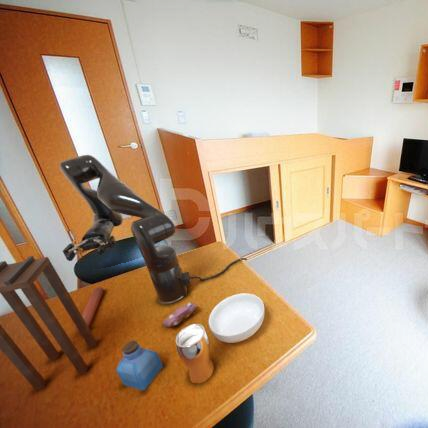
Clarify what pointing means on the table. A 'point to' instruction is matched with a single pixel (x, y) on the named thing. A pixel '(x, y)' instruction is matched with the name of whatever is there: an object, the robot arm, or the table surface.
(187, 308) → the video game controller
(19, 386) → the table surface
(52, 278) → the shelf stand
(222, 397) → the table surface
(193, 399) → the table surface
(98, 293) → the sausage
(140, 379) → the perfume bottle
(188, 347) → the silver metal tumbler
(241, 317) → the cereal bowl
